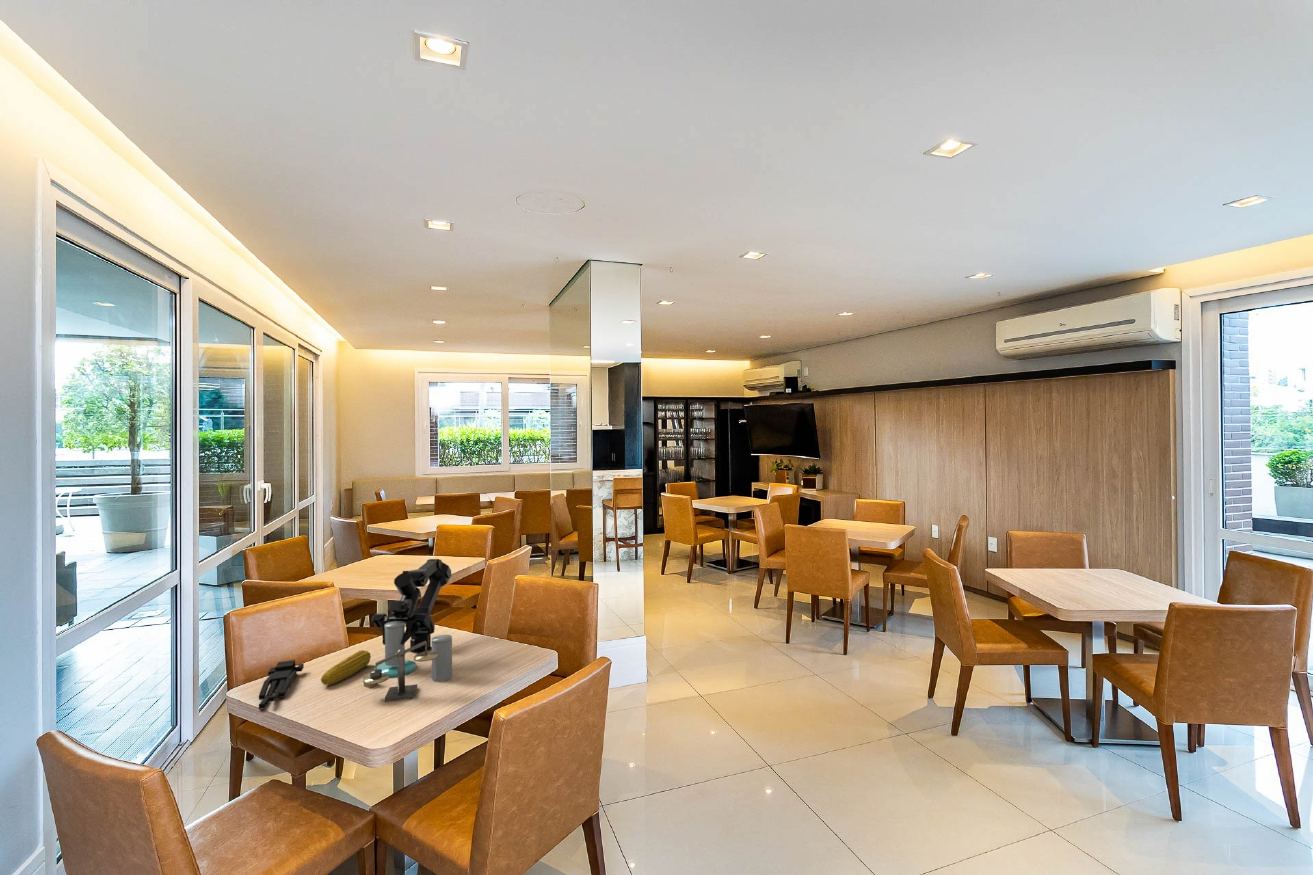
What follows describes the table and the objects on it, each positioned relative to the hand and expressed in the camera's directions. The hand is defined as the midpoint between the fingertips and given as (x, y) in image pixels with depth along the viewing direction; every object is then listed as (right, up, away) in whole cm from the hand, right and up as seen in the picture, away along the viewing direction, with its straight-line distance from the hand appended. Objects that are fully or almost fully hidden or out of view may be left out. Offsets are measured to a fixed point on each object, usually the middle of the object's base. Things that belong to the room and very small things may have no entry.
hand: (392, 644), depth 198 cm
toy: (-29, -10, -15) cm, 34 cm away
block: (-2, -9, -12) cm, 15 cm away
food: (-14, -10, -3) cm, 17 cm away
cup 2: (+19, -9, -6) cm, 22 cm away
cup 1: (0, -7, +1) cm, 7 cm away
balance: (+11, -9, -19) cm, 24 cm away
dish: (0, -9, +1) cm, 9 cm away
